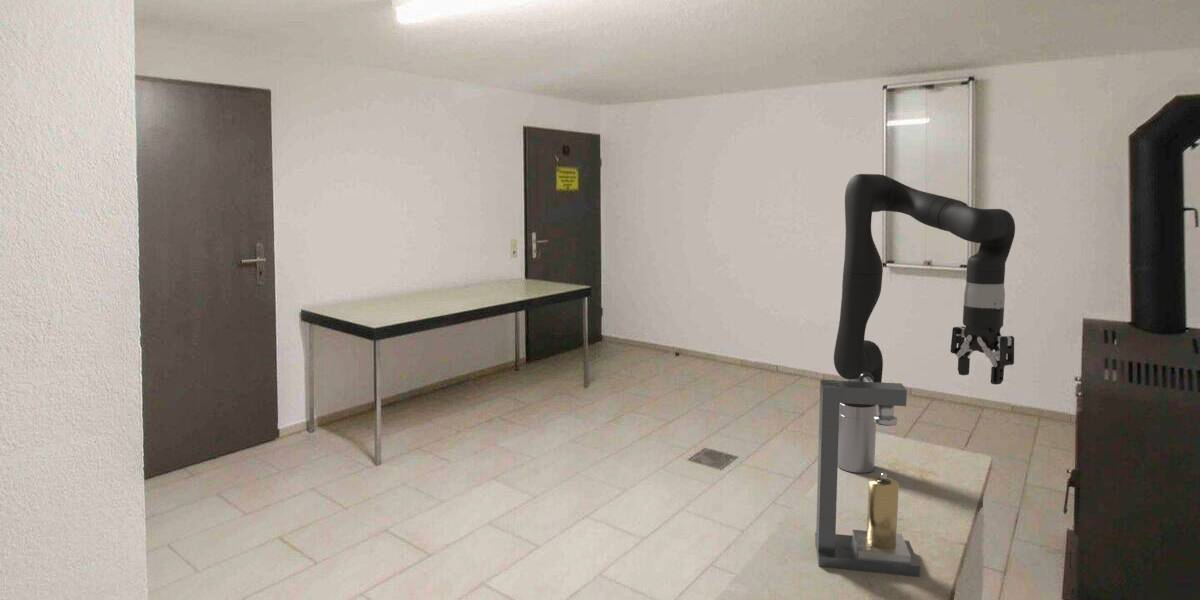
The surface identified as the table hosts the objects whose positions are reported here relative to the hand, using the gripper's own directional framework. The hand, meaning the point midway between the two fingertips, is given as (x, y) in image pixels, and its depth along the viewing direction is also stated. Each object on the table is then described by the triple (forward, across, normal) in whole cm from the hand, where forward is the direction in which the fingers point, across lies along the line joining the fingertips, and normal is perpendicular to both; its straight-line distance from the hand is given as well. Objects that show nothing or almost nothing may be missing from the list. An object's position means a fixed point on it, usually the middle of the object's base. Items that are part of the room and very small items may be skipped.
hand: (979, 379), depth 147 cm
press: (+30, +6, -33) cm, 45 cm away
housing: (+27, +11, -32) cm, 43 cm away
